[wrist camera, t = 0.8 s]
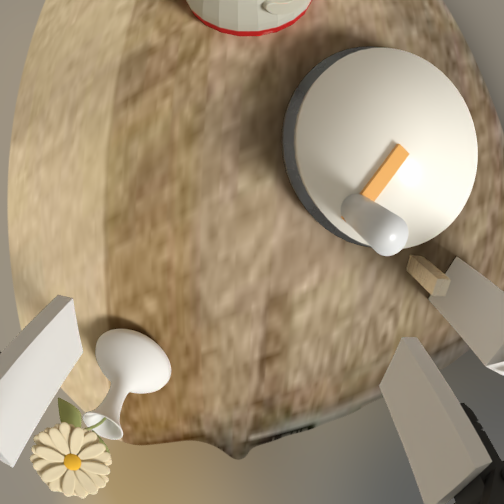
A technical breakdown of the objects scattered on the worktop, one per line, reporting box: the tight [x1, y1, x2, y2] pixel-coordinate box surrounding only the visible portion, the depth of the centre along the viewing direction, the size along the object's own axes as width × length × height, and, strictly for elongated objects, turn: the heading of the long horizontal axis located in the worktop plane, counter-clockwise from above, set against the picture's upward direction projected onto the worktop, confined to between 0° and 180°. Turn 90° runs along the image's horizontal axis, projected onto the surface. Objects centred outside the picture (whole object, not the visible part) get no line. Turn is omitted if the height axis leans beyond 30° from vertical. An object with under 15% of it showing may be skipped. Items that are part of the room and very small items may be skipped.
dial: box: [294, 48, 478, 256], centre depth 23 cm, size 20×20×11 cm
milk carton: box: [428, 257, 504, 376], centre depth 27 cm, size 7×7×19 cm
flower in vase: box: [30, 329, 171, 498], centre depth 28 cm, size 13×11×25 cm
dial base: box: [281, 46, 451, 296], centre depth 27 cm, size 25×22×7 cm
